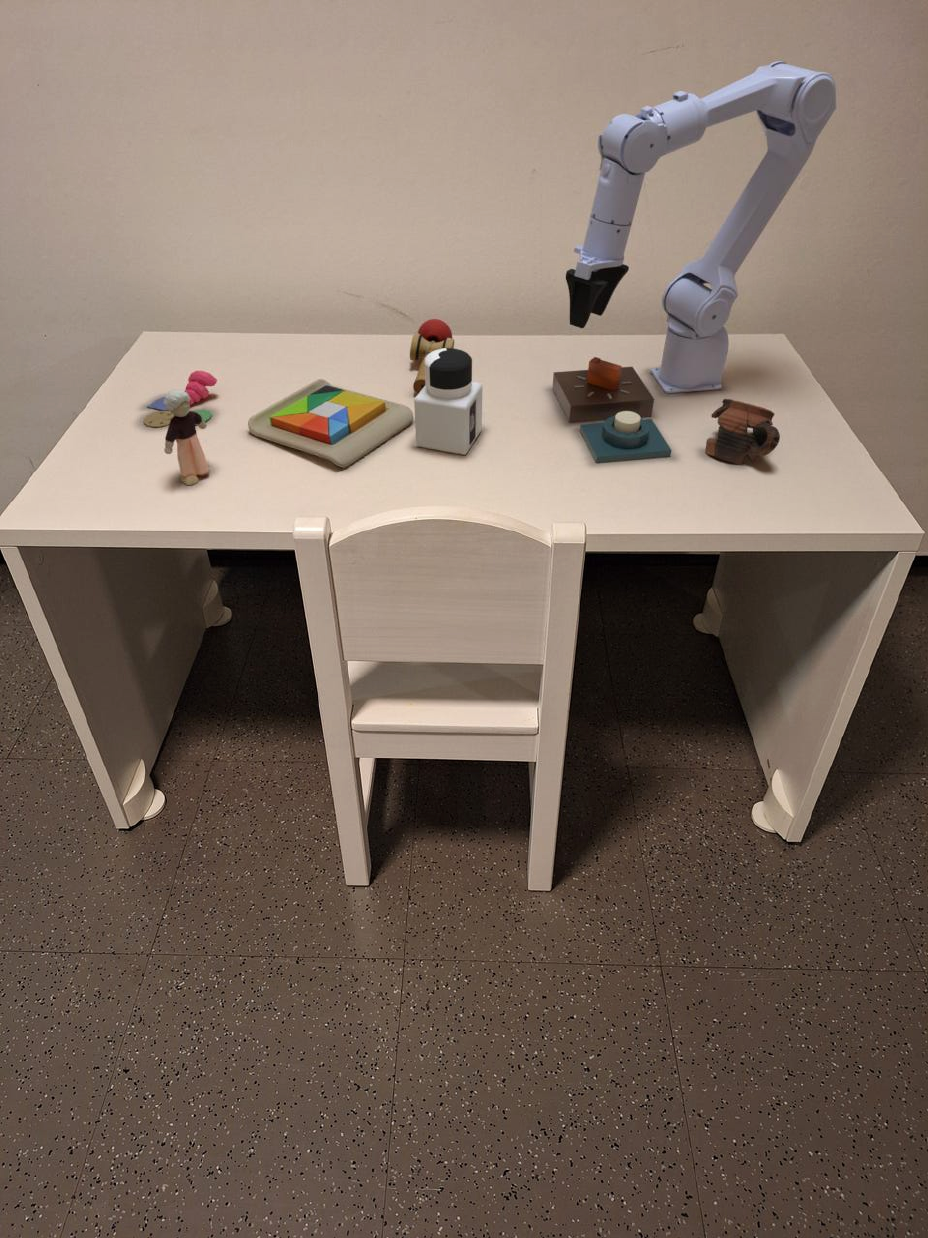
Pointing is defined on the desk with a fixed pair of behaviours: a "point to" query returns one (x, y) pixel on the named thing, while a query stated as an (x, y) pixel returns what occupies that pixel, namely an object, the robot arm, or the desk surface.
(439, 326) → the kendama
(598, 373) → the dial knob
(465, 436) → the container
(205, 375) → the toy pieces
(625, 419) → the button
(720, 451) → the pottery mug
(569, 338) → the desk surface
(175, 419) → the grandmother figurine
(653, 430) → the button block
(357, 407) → the wooden puzzle
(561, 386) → the dial board
